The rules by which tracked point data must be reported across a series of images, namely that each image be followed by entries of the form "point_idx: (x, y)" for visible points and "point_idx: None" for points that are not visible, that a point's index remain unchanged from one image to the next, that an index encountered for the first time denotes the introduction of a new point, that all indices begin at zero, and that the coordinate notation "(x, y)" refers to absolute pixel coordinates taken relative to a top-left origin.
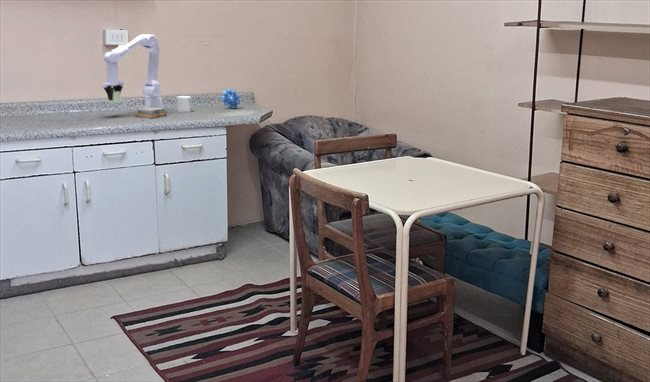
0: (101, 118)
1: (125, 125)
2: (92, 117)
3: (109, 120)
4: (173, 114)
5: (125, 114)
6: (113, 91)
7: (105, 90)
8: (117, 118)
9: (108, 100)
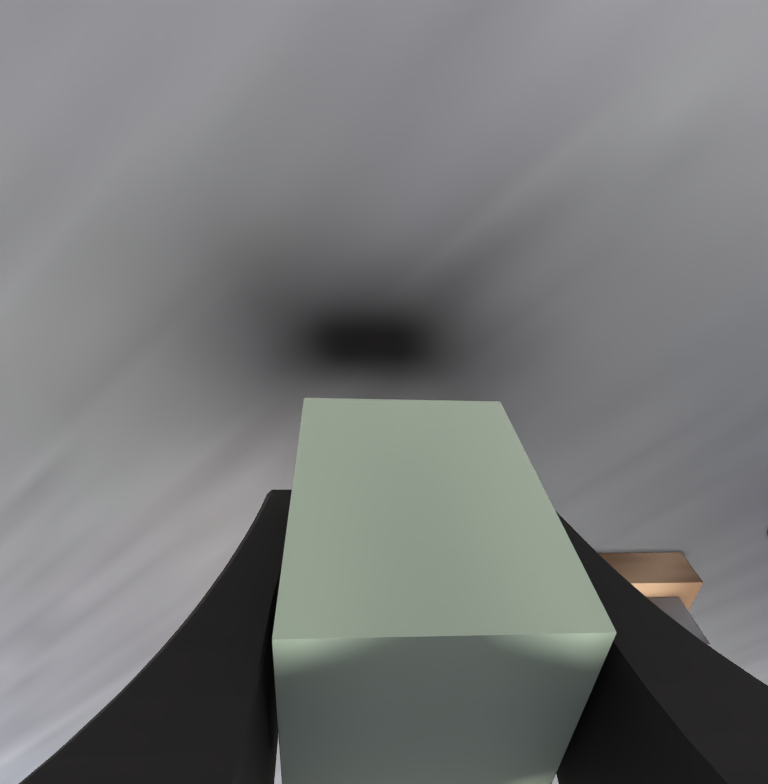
0: (118, 315)
1: (2, 750)
2: (80, 97)
3: (80, 506)
4: (749, 670)
5: (626, 326)
6: (456, 717)
7: (87, 741)
8: (262, 475)
9: (299, 442)
